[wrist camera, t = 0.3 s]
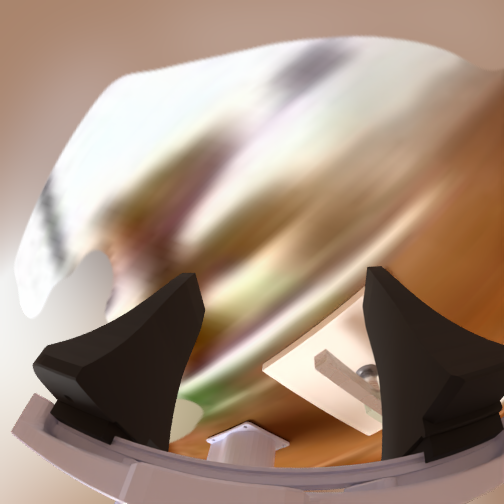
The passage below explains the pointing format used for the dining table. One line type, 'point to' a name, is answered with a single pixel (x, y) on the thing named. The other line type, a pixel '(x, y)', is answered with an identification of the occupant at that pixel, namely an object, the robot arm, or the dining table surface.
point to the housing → (342, 347)
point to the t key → (350, 379)
